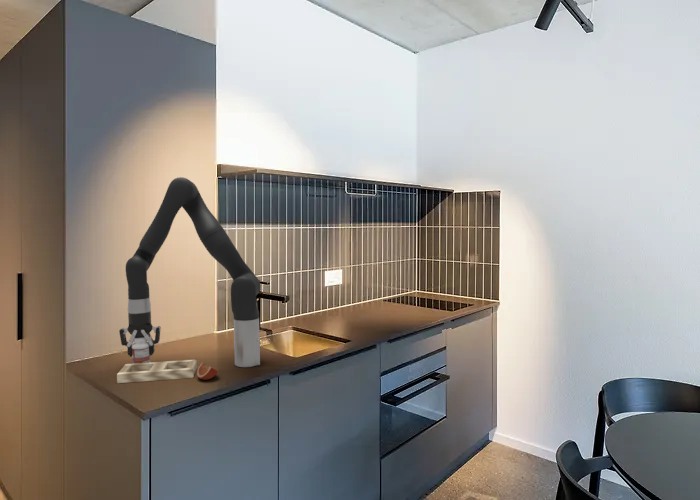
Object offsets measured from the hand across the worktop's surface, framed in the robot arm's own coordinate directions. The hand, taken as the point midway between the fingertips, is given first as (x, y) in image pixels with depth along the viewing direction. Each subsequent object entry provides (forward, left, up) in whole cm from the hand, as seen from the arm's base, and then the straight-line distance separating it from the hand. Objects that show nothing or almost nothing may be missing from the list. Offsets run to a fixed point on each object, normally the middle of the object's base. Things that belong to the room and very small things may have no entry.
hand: (141, 355), depth 171 cm
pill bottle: (0, 0, -4) cm, 4 cm away
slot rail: (-8, +11, -4) cm, 14 cm away
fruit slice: (-25, +18, -5) cm, 31 cm away
